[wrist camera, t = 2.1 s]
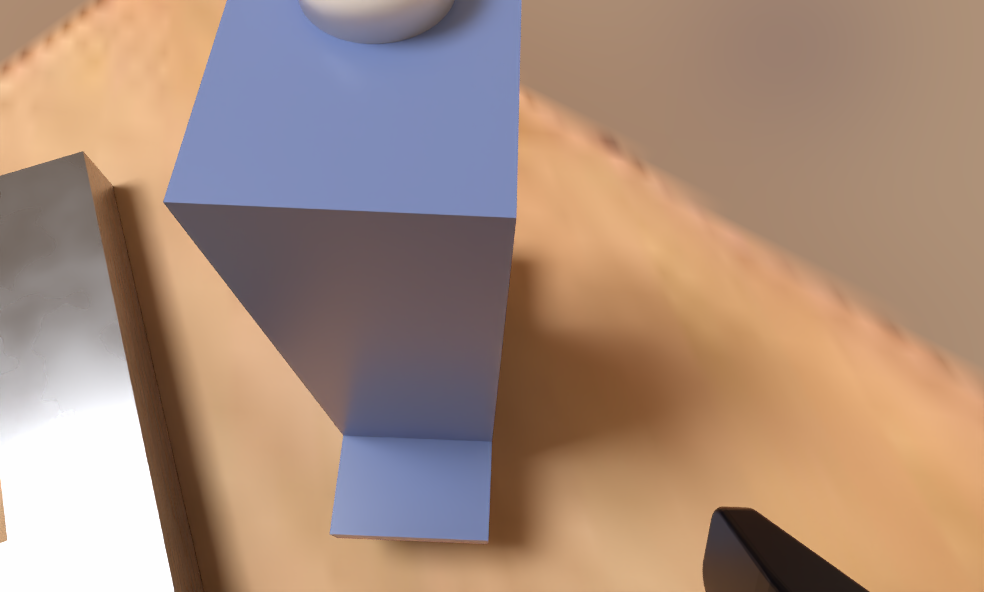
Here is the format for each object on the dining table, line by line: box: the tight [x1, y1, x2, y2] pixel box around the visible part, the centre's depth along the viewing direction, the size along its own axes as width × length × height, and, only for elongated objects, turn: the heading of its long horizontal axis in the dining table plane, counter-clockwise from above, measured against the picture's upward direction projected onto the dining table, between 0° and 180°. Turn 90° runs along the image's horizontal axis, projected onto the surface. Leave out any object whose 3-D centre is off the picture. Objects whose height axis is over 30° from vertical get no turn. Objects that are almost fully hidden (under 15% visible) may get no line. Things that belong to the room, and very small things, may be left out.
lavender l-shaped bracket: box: [163, 0, 521, 544], centre depth 14 cm, size 10×4×15 cm, turn 178°
